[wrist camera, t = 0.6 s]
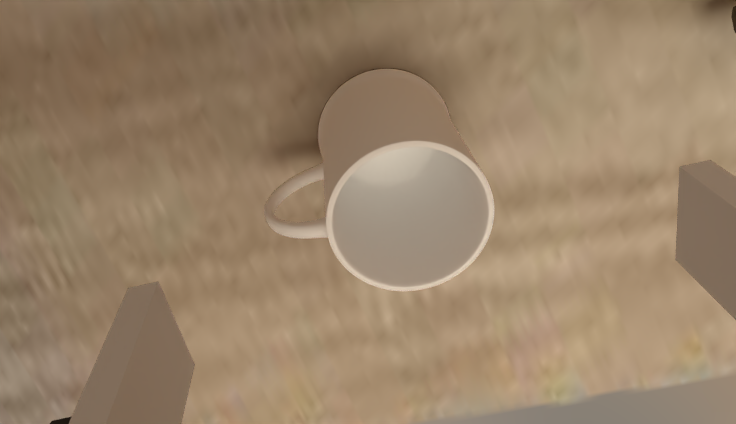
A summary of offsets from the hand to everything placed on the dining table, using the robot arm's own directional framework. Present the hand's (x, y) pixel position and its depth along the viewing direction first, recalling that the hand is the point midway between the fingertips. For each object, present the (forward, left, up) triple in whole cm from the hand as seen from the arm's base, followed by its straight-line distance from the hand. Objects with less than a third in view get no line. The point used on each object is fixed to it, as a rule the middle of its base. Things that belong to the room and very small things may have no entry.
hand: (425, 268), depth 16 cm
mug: (+3, -5, -25) cm, 25 cm away
